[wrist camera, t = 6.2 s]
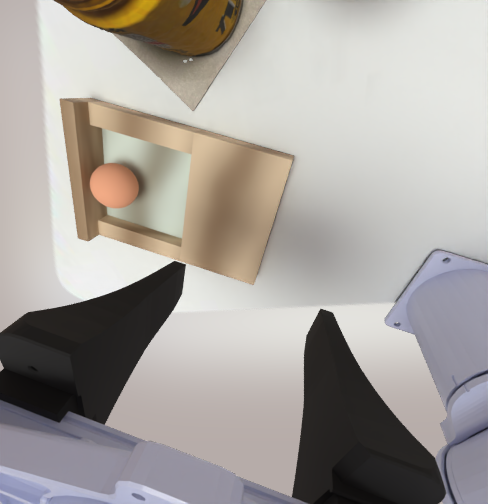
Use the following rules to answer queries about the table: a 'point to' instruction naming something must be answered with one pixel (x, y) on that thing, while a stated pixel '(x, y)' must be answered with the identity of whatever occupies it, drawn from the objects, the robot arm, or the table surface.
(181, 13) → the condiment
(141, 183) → the board
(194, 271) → the table surface
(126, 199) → the ball
